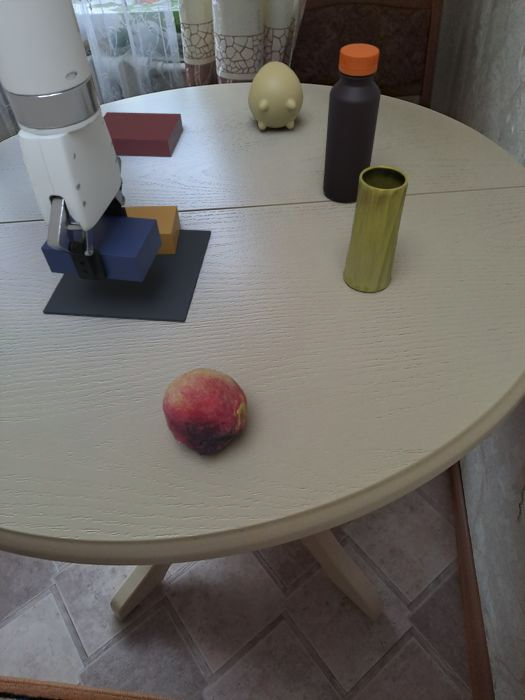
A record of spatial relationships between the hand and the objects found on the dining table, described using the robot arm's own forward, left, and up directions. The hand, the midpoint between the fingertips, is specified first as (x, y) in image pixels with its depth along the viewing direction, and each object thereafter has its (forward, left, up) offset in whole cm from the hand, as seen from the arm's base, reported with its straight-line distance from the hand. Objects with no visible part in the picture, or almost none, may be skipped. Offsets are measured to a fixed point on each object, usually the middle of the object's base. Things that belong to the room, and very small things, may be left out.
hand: (107, 255), depth 58 cm
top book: (0, +12, -6) cm, 13 cm away
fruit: (+15, -18, -7) cm, 25 cm away
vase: (+31, +7, -7) cm, 32 cm away
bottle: (+28, +27, -7) cm, 39 cm away
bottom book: (-9, +41, -7) cm, 42 cm away
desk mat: (0, +6, -7) cm, 9 cm away
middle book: (0, 0, 0) cm, 0 cm away
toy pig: (+15, +49, -7) cm, 51 cm away
